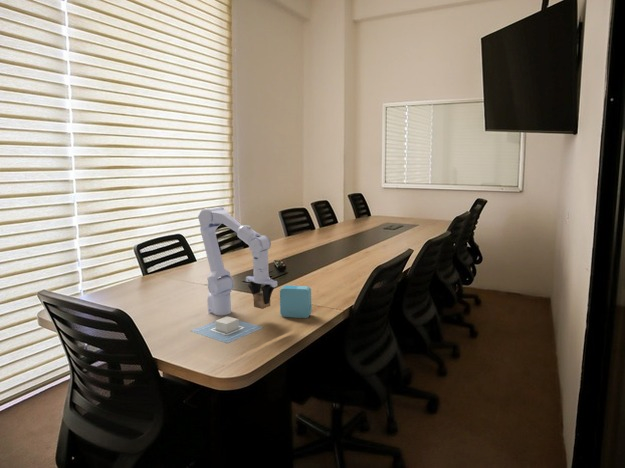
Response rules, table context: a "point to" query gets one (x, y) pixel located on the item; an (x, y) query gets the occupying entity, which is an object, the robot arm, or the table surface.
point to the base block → (227, 324)
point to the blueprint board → (227, 337)
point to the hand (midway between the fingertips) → (262, 302)
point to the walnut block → (260, 301)
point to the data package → (295, 301)
